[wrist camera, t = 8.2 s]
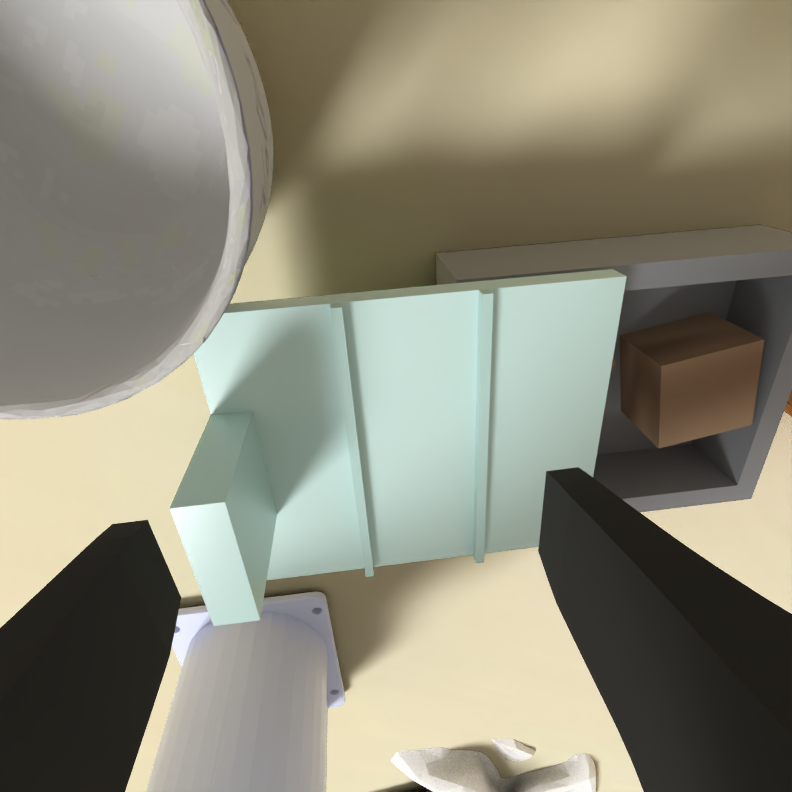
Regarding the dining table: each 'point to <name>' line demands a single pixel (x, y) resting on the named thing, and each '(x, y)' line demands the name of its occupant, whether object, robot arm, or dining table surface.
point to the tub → (662, 303)
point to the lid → (390, 427)
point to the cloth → (493, 771)
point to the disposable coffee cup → (789, 405)
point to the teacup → (121, 192)
